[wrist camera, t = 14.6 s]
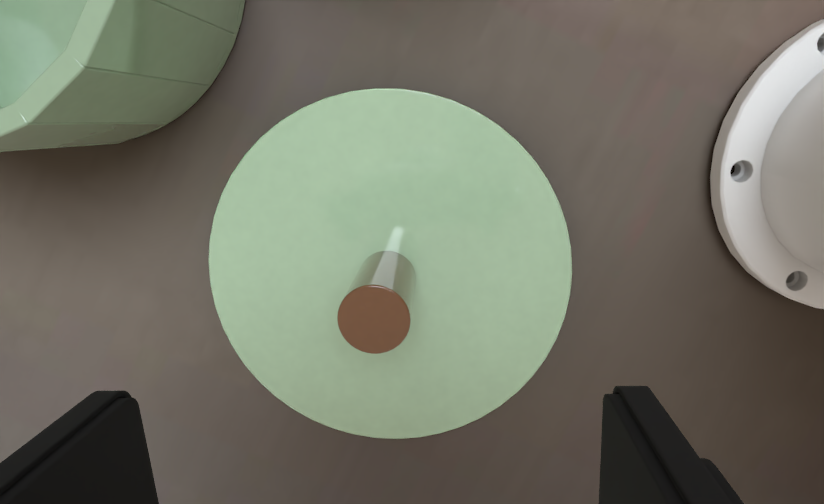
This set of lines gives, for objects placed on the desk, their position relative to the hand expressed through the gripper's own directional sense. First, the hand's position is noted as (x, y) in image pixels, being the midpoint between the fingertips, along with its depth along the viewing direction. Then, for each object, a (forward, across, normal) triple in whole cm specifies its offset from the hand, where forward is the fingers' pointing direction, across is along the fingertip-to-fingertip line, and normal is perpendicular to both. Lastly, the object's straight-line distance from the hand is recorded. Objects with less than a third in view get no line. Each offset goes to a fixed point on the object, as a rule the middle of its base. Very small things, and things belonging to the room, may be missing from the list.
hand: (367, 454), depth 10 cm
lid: (+14, +1, 0) cm, 14 cm away
